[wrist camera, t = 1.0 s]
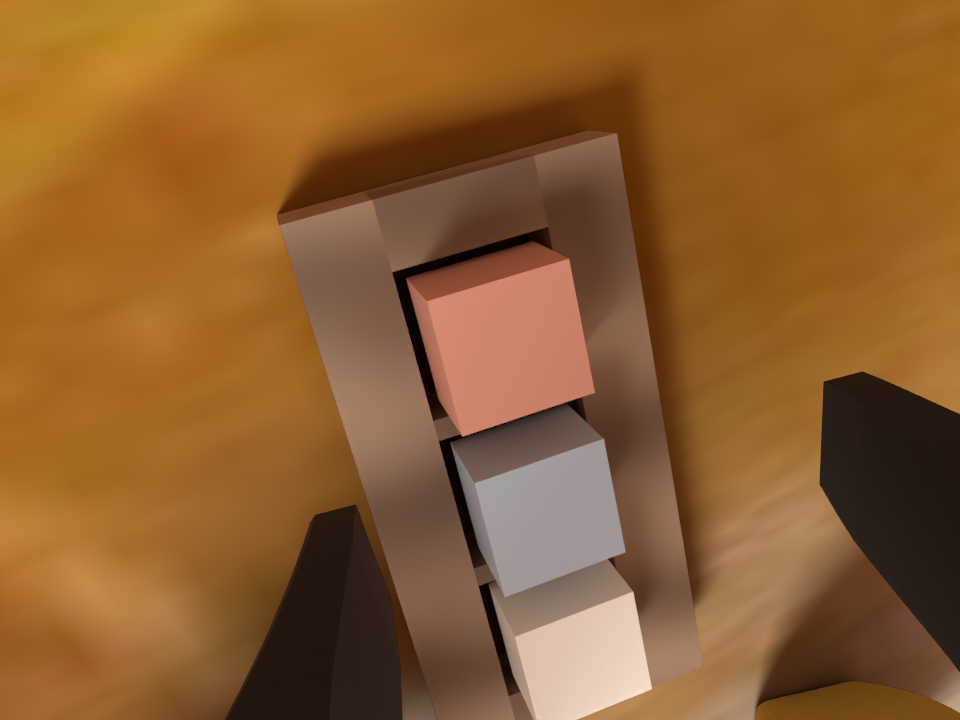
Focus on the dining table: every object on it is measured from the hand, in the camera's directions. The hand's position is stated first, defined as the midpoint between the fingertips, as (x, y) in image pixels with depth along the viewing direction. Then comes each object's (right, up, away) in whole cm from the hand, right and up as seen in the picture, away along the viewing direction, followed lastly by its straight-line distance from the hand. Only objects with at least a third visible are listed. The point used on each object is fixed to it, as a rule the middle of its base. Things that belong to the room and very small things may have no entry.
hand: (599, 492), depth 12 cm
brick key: (-2, +3, +13) cm, 13 cm away
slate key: (0, -2, +15) cm, 15 cm away
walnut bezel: (-1, -1, +16) cm, 16 cm away
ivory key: (+1, -7, +16) cm, 18 cm away
